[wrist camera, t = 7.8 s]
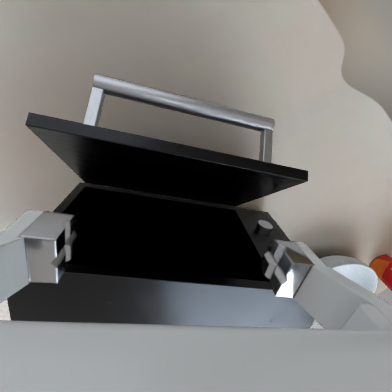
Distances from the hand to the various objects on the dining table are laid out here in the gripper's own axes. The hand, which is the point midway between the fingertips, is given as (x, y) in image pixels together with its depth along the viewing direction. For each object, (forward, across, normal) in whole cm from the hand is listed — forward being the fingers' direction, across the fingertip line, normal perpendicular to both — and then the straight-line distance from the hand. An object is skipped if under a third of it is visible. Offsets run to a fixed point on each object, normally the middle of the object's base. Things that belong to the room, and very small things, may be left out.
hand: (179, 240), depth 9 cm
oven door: (+30, +1, -9) cm, 32 cm away
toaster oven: (+31, +5, -26) cm, 41 cm away
